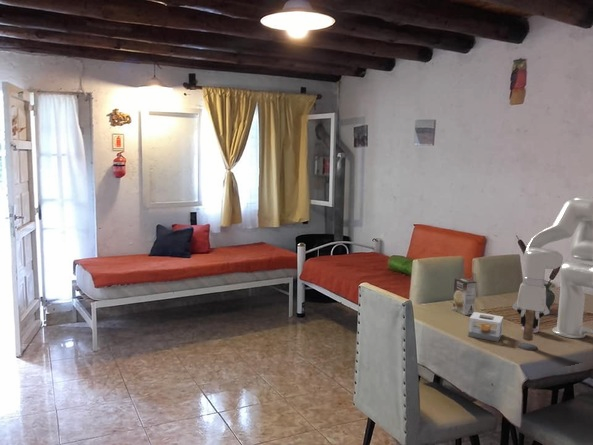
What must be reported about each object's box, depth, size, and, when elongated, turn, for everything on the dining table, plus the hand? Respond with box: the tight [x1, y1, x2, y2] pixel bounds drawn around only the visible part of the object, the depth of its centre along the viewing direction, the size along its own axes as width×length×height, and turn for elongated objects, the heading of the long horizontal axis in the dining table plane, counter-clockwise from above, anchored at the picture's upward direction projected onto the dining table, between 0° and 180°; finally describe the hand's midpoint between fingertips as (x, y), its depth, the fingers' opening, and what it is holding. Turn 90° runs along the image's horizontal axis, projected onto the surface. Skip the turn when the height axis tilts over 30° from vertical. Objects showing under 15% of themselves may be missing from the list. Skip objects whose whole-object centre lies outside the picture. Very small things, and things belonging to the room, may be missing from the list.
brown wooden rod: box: [522, 310, 536, 342], centre depth 207 cm, size 4×4×14 cm
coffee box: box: [452, 277, 477, 316], centre depth 253 cm, size 9×6×16 cm
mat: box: [517, 342, 538, 351], centre depth 208 cm, size 7×7×1 cm
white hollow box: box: [467, 311, 504, 342], centre depth 220 cm, size 12×10×8 cm
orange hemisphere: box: [480, 323, 492, 332], centre depth 220 cm, size 4×4×2 cm
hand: (529, 326), depth 207 cm, fingers closed on brown wooden rod, 3 cm apart
